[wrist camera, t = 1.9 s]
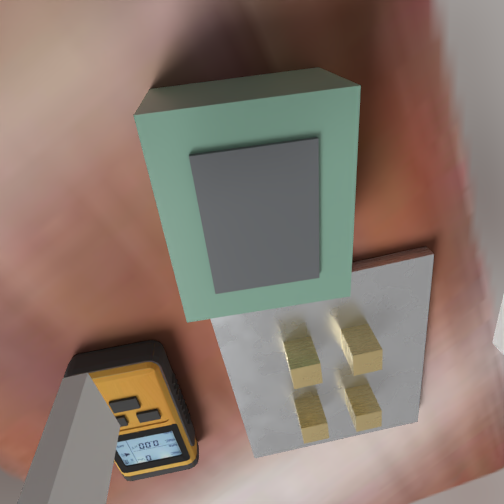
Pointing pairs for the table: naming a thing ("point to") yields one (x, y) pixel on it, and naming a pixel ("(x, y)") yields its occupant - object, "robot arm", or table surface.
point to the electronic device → (142, 408)
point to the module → (255, 188)
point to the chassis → (333, 358)
